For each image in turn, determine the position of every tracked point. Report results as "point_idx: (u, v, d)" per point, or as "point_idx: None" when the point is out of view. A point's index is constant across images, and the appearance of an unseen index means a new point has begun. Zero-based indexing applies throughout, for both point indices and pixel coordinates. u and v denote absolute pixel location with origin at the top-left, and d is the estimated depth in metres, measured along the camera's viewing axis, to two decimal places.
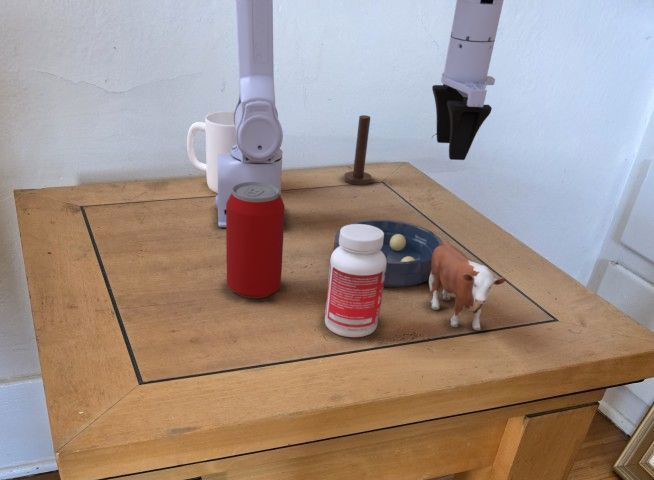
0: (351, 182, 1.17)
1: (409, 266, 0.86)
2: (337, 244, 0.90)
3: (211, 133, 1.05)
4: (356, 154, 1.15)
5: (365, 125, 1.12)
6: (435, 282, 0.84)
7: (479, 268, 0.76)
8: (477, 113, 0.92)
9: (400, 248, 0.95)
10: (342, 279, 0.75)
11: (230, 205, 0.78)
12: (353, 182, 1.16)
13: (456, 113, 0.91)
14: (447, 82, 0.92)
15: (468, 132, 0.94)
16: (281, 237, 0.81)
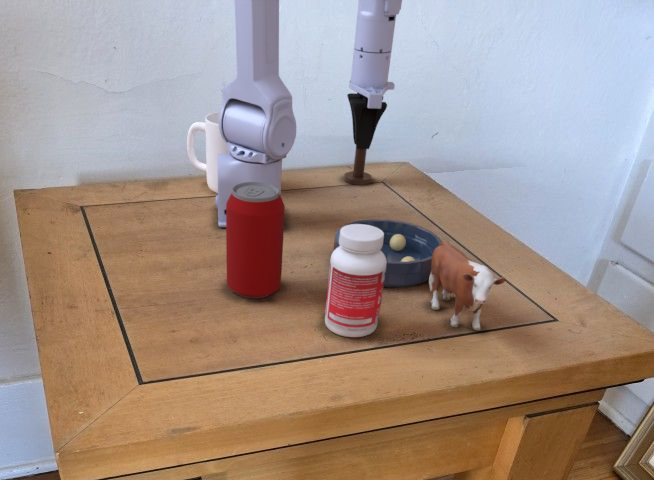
0: (351, 182, 1.17)
1: (409, 266, 0.86)
2: (337, 244, 0.90)
3: (211, 133, 1.05)
4: (356, 154, 1.15)
5: None
6: (435, 282, 0.84)
7: (479, 268, 0.76)
8: (375, 109, 1.09)
9: (400, 248, 0.95)
10: (342, 279, 0.75)
11: (230, 205, 0.78)
12: (353, 182, 1.16)
13: (357, 109, 1.08)
14: (353, 87, 1.07)
15: (370, 125, 1.11)
16: (281, 237, 0.81)
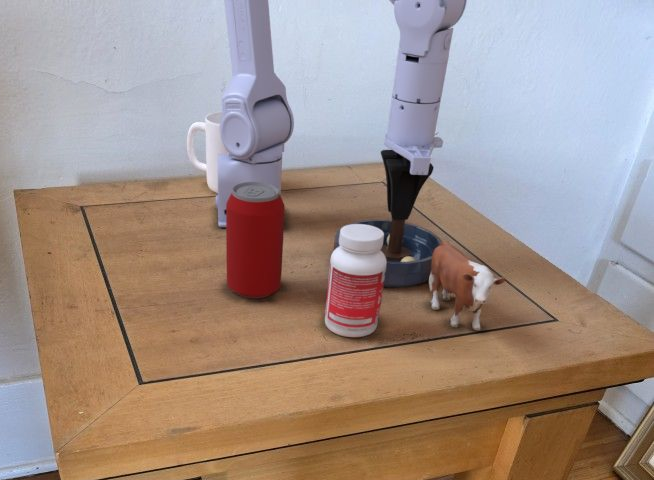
0: None
1: (409, 266, 0.86)
2: (337, 244, 0.90)
3: (211, 133, 1.05)
4: (392, 225, 0.91)
5: None
6: (435, 282, 0.84)
7: (479, 268, 0.76)
8: None
9: None
10: (342, 279, 0.75)
11: (230, 205, 0.78)
12: (387, 259, 0.92)
13: (395, 173, 0.84)
14: (390, 145, 0.83)
15: (410, 191, 0.87)
16: (281, 237, 0.81)
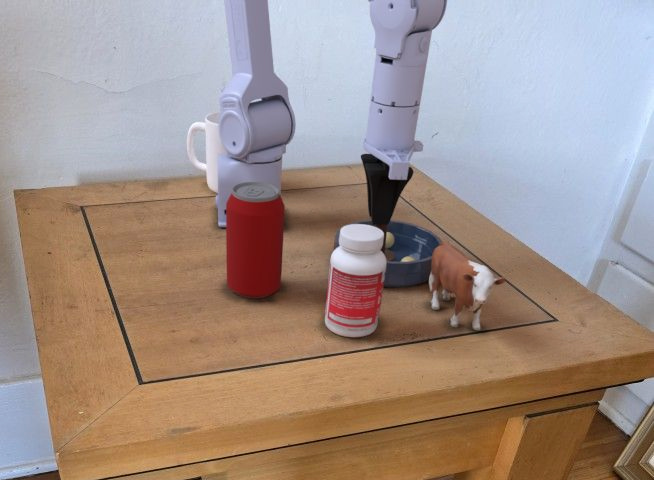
0: None
1: (409, 266, 0.86)
2: (337, 244, 0.90)
3: (211, 133, 1.05)
4: None
5: None
6: (435, 282, 0.84)
7: (479, 268, 0.76)
8: None
9: None
10: (342, 279, 0.75)
11: (230, 205, 0.78)
12: None
13: (374, 177, 0.82)
14: (369, 149, 0.82)
15: (390, 196, 0.85)
16: (281, 237, 0.81)
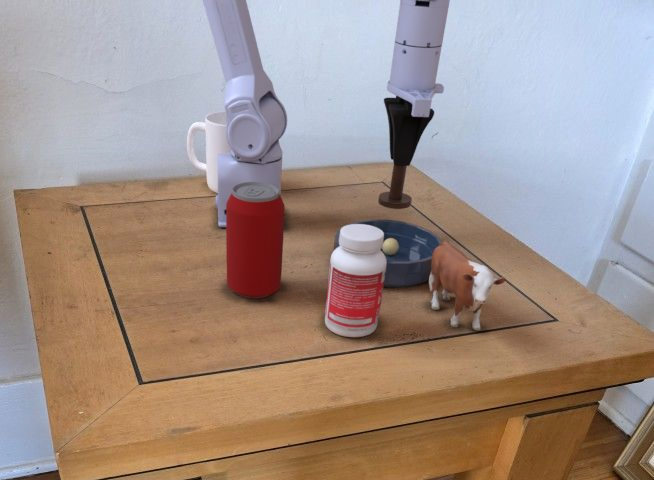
0: (382, 203, 0.96)
1: (409, 266, 0.86)
2: (337, 244, 0.90)
3: (211, 133, 1.05)
4: (393, 171, 0.94)
5: None
6: (435, 282, 0.84)
7: (479, 268, 0.76)
8: (420, 117, 0.88)
9: None
10: (342, 279, 0.75)
11: (230, 205, 0.78)
12: (383, 204, 0.96)
13: (397, 117, 0.87)
14: (392, 90, 0.86)
15: (412, 137, 0.90)
16: (281, 237, 0.81)
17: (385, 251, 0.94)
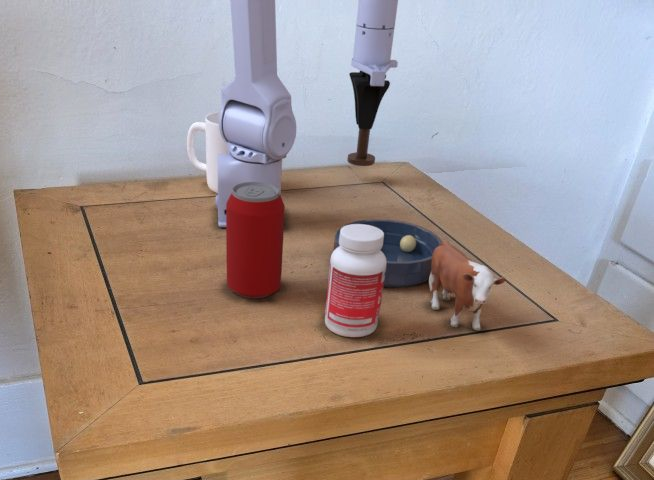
0: (350, 161, 1.15)
1: (409, 266, 0.86)
2: (337, 244, 0.90)
3: (211, 133, 1.05)
4: (358, 134, 1.13)
5: None
6: (435, 282, 0.84)
7: (479, 268, 0.76)
8: (378, 87, 1.07)
9: None
10: (342, 279, 0.75)
11: (230, 205, 0.78)
12: (351, 162, 1.15)
13: (359, 87, 1.06)
14: (355, 65, 1.05)
15: (372, 104, 1.09)
16: (281, 237, 0.81)
17: (414, 238, 0.95)
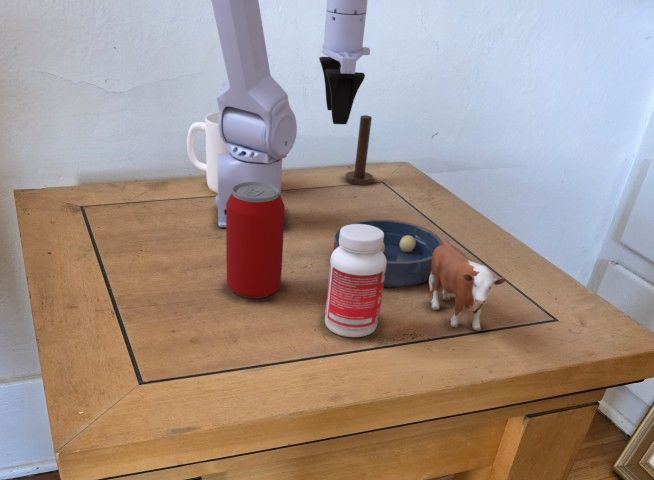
0: (348, 180, 1.17)
1: (409, 266, 0.86)
2: (337, 244, 0.90)
3: (211, 133, 1.05)
4: (356, 153, 1.15)
5: (364, 125, 1.12)
6: (435, 282, 0.84)
7: (479, 268, 0.76)
8: (352, 80, 1.01)
9: None
10: (342, 279, 0.75)
11: (230, 205, 0.78)
12: (349, 181, 1.17)
13: (332, 80, 1.00)
14: (325, 52, 1.01)
15: (347, 98, 1.03)
16: (281, 237, 0.81)
17: (413, 238, 0.94)
